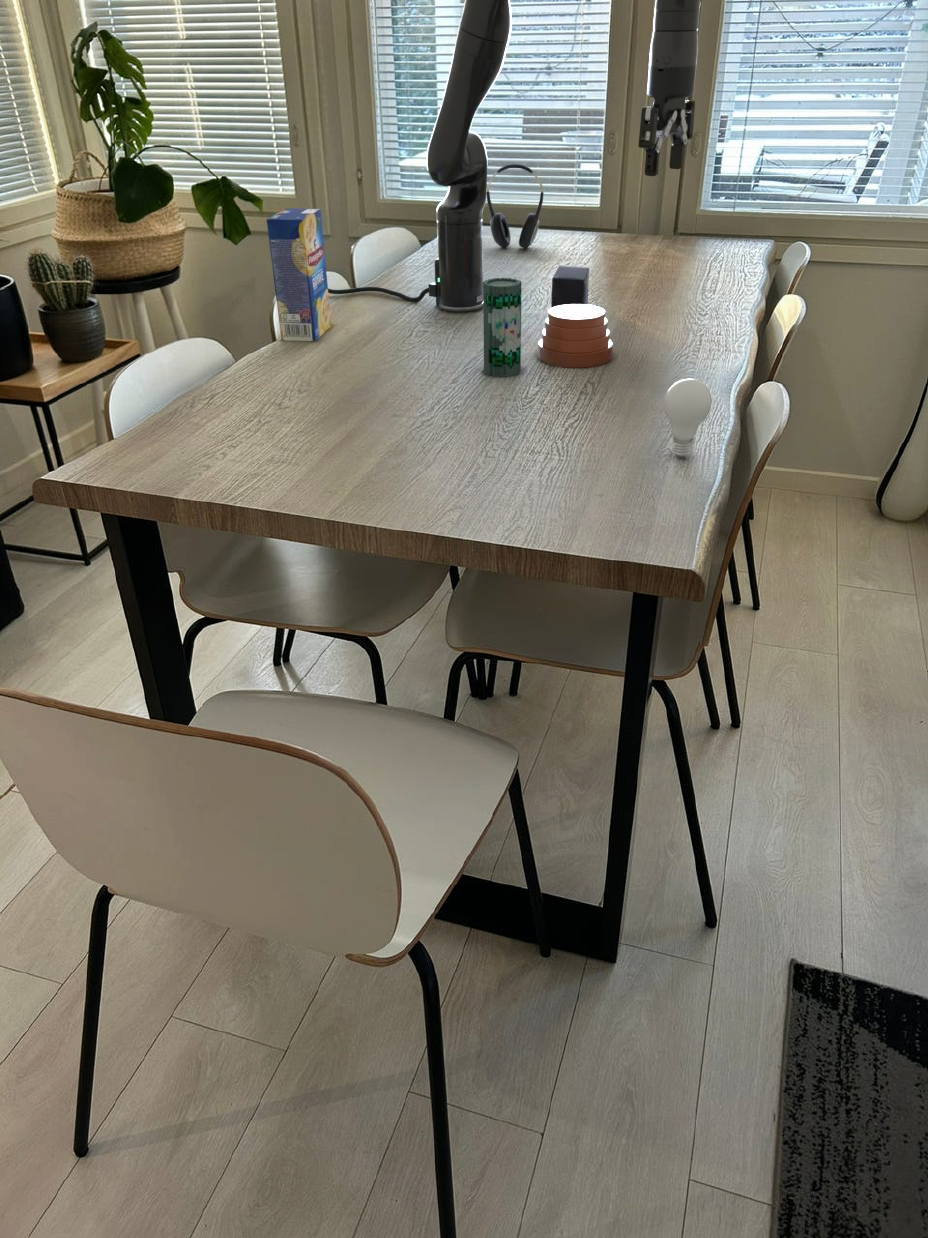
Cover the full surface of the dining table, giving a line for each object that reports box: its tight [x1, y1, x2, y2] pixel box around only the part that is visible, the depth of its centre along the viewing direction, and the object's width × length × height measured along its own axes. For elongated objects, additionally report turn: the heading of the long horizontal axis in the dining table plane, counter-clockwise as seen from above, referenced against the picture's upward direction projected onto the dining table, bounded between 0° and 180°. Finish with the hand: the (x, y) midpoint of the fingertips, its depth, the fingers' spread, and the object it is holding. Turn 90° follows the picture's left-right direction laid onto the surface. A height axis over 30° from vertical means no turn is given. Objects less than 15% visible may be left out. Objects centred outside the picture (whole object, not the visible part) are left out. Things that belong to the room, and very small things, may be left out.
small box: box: [550, 265, 590, 309], centre depth 188 cm, size 11×6×10 cm, turn 168°
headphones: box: [486, 163, 545, 249], centre depth 249 cm, size 9×15×20 cm, turn 77°
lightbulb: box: [663, 378, 713, 458], centre depth 133 cm, size 6×6×11 cm
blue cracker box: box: [266, 208, 332, 342], centre depth 186 cm, size 7×11×22 cm, turn 170°
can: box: [482, 277, 522, 378], centre depth 165 cm, size 6×6×15 cm
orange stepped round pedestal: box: [537, 304, 613, 369], centre depth 173 cm, size 13×13×8 cm
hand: (663, 171), depth 166 cm, fingers open, 8 cm apart
